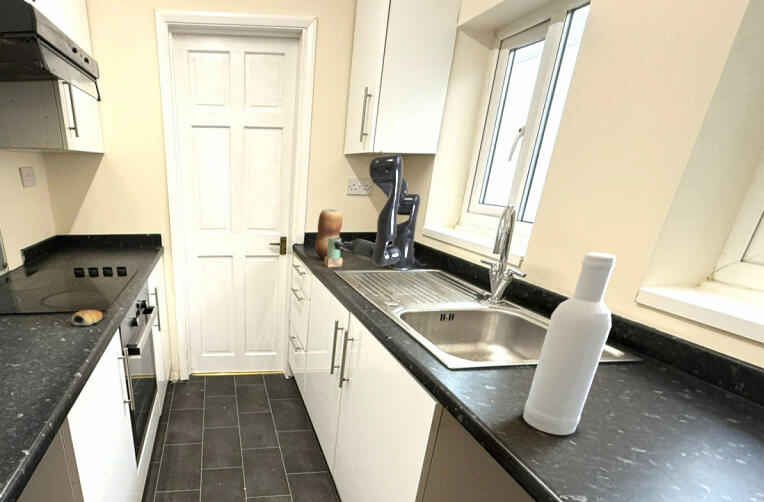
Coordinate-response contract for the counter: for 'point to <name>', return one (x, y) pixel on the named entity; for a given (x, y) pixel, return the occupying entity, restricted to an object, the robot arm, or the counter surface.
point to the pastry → (86, 317)
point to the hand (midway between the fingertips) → (343, 243)
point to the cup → (333, 248)
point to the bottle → (571, 351)
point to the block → (333, 262)
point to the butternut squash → (327, 230)
